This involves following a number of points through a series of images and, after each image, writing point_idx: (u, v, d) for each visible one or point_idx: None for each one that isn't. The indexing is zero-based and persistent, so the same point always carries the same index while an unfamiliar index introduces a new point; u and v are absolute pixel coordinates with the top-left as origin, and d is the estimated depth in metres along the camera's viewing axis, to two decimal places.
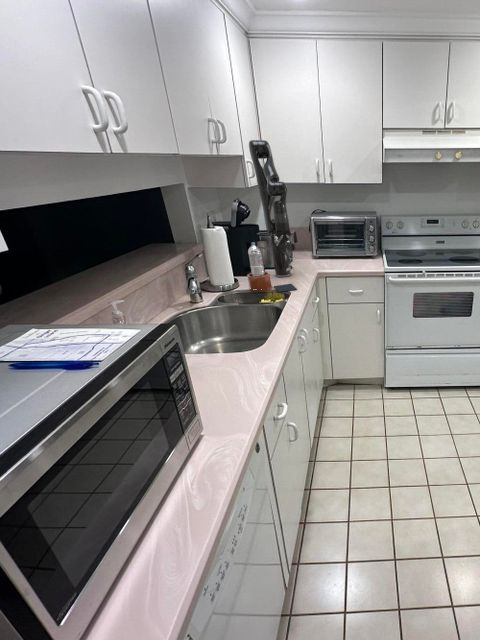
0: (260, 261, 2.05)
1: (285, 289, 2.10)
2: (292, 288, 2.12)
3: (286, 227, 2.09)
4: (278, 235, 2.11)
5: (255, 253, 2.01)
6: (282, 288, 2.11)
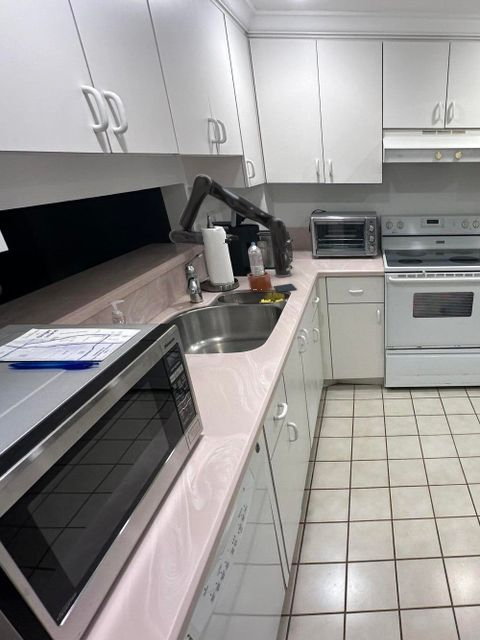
0: (260, 261, 2.05)
1: (285, 289, 2.10)
2: (292, 288, 2.12)
3: None
4: None
5: (255, 253, 2.01)
6: (282, 288, 2.11)
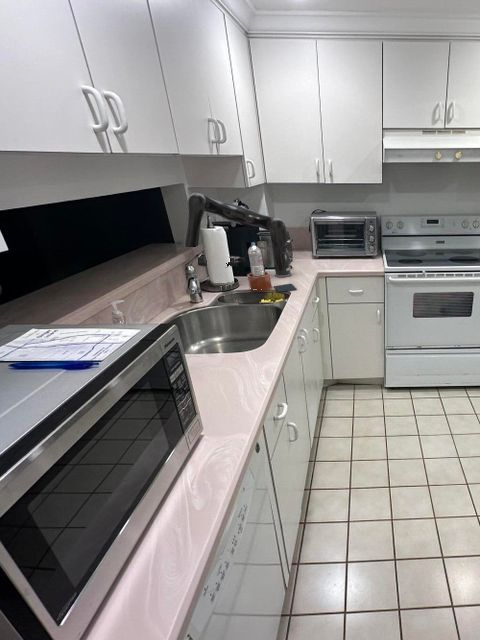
0: (260, 261, 2.05)
1: (285, 289, 2.10)
2: (292, 288, 2.12)
3: None
4: None
5: (255, 253, 2.01)
6: (282, 288, 2.11)
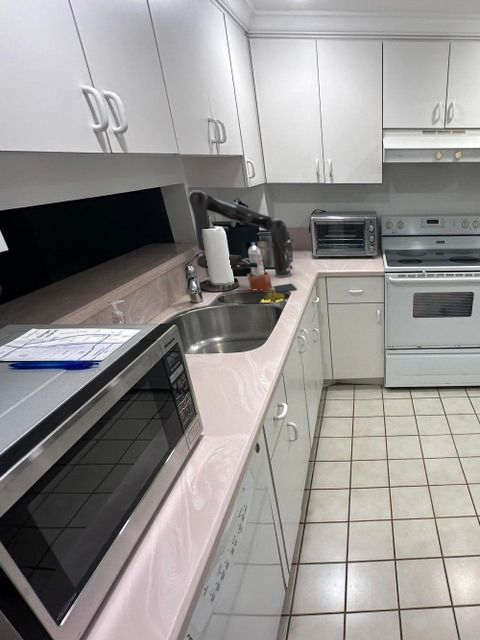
0: (260, 261, 2.05)
1: (285, 289, 2.10)
2: (292, 288, 2.12)
3: None
4: None
5: (255, 253, 2.01)
6: (282, 288, 2.11)
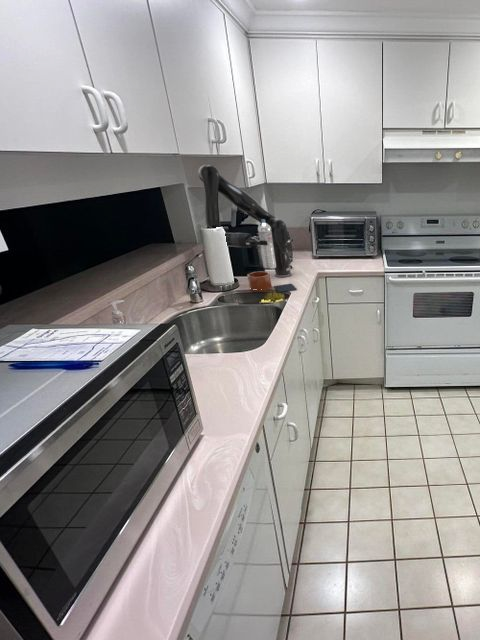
0: (270, 239, 1.99)
1: (285, 289, 2.10)
2: (292, 288, 2.12)
3: (246, 247, 2.04)
4: None
5: (265, 230, 1.95)
6: (282, 288, 2.11)
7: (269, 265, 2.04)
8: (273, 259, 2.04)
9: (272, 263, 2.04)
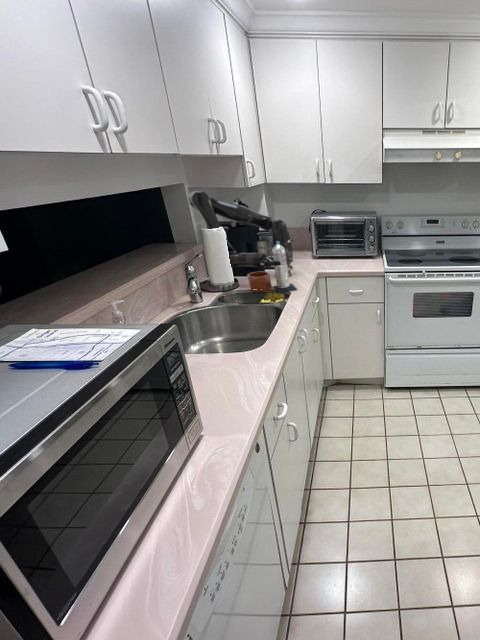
0: (284, 260, 2.04)
1: (285, 289, 2.10)
2: (292, 288, 2.12)
3: None
4: None
5: (279, 252, 2.00)
6: None
7: (283, 285, 2.09)
8: (287, 279, 2.09)
9: (286, 283, 2.09)
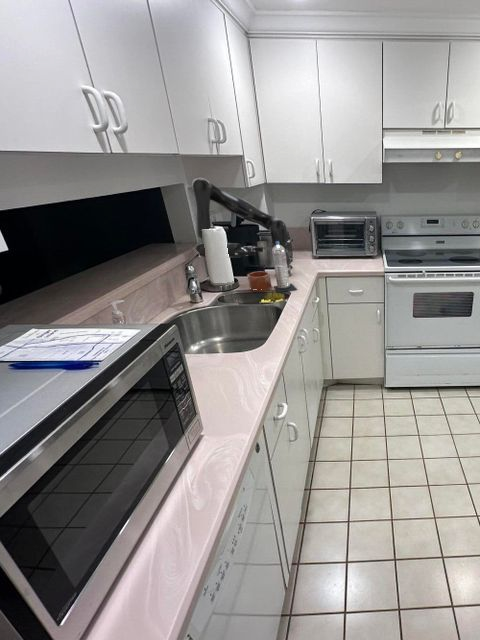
0: (284, 260, 2.04)
1: (285, 289, 2.10)
2: (292, 288, 2.12)
3: (236, 257, 2.08)
4: None
5: (279, 252, 2.00)
6: None
7: (283, 285, 2.09)
8: (287, 279, 2.09)
9: (286, 283, 2.09)
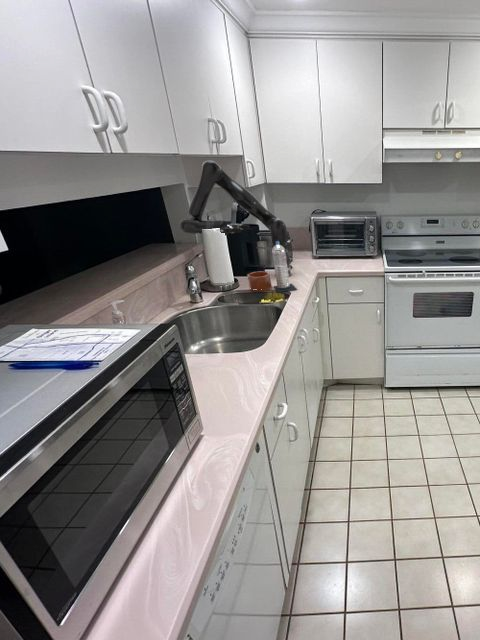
0: (284, 260, 2.04)
1: (285, 289, 2.10)
2: (292, 288, 2.12)
3: None
4: None
5: (279, 252, 2.00)
6: None
7: (283, 285, 2.09)
8: (287, 279, 2.09)
9: (286, 283, 2.09)
